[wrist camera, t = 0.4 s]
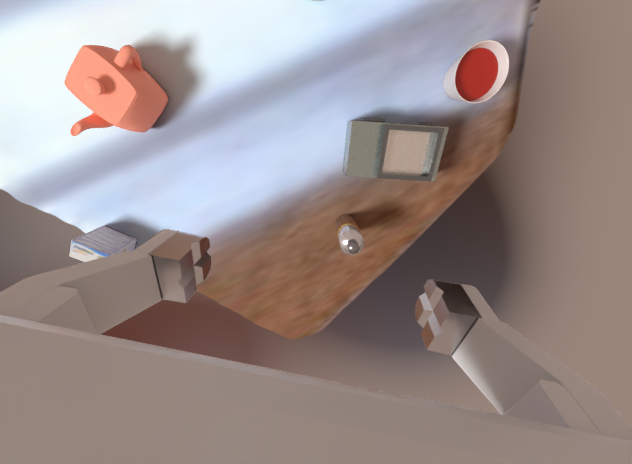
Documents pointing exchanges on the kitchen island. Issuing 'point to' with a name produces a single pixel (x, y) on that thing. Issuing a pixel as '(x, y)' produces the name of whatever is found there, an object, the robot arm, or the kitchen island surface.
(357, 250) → the frosted glass bottle
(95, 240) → the medicine box
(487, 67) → the candle
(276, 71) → the kitchen island surface
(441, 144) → the green tray box
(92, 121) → the teapot
